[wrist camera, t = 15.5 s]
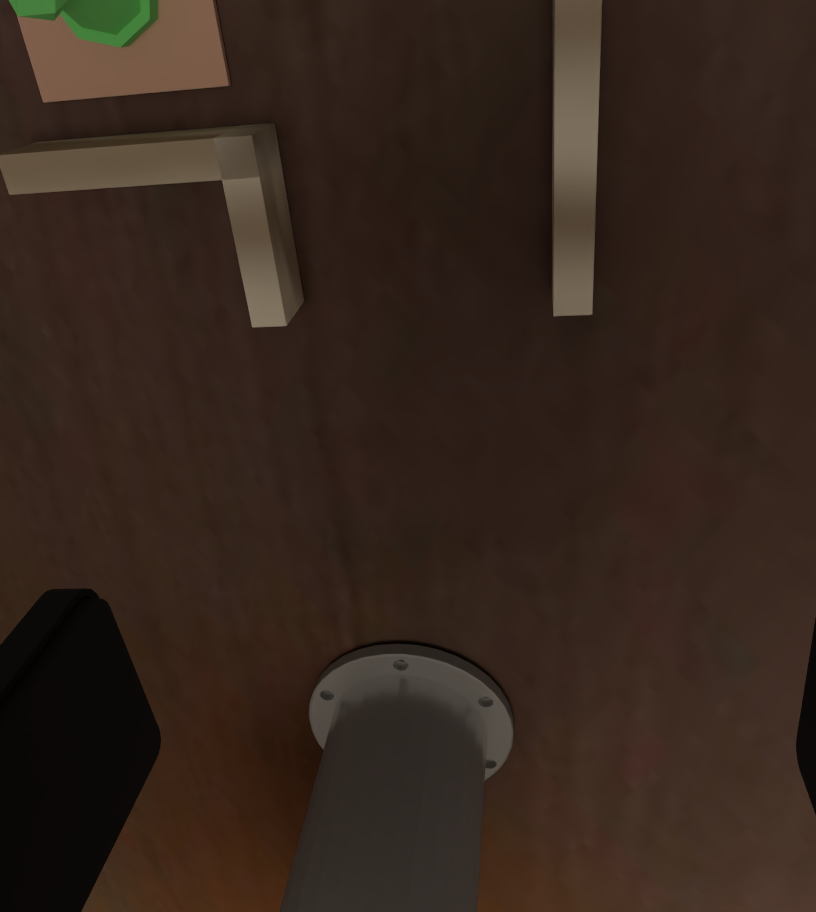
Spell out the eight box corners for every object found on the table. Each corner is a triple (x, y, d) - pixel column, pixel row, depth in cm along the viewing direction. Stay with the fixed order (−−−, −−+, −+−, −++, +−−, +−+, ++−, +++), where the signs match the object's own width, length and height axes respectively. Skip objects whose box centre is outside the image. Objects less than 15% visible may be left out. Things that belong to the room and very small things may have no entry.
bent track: (587, 288, 33) (592, 314, 31) (90, 310, 37) (57, 334, 34) (605, -367, 23) (614, -409, 20) (-85, -246, 27) (-149, -269, 24)
